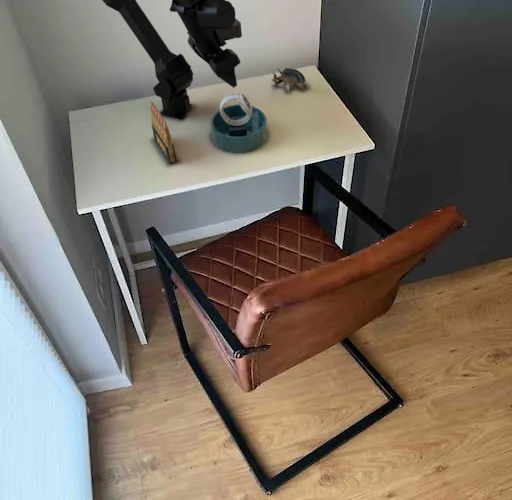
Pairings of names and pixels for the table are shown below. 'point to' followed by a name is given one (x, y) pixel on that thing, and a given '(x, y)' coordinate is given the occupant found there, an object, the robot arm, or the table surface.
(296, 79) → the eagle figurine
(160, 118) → the ammunition clip
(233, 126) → the watch
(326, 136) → the table surface
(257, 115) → the bowl
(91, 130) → the table surface
